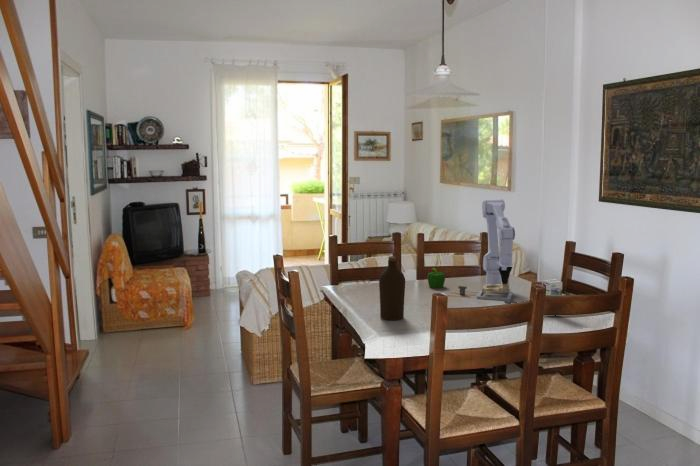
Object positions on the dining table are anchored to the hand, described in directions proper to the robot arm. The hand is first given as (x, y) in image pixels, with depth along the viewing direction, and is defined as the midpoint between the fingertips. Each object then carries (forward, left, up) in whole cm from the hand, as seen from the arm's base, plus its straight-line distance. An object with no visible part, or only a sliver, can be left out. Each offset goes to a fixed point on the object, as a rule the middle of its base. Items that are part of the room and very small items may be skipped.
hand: (505, 283), depth 282 cm
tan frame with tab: (0, -4, -4) cm, 5 cm away
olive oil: (+47, -40, -8) cm, 63 cm away
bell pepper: (-12, -34, -8) cm, 37 cm away
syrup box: (+22, +21, -8) cm, 32 cm away
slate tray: (0, -5, -7) cm, 9 cm away
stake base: (0, -19, -7) cm, 20 cm away
